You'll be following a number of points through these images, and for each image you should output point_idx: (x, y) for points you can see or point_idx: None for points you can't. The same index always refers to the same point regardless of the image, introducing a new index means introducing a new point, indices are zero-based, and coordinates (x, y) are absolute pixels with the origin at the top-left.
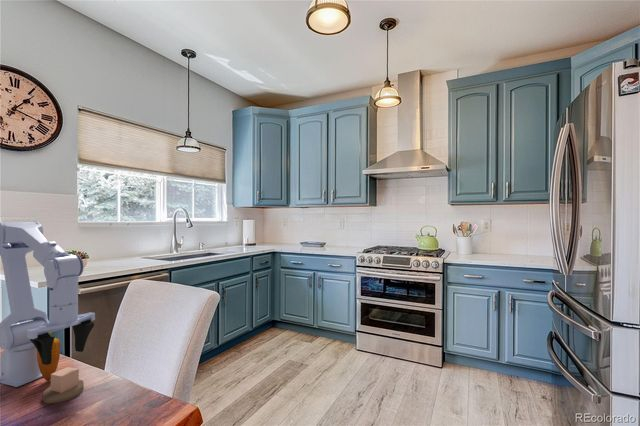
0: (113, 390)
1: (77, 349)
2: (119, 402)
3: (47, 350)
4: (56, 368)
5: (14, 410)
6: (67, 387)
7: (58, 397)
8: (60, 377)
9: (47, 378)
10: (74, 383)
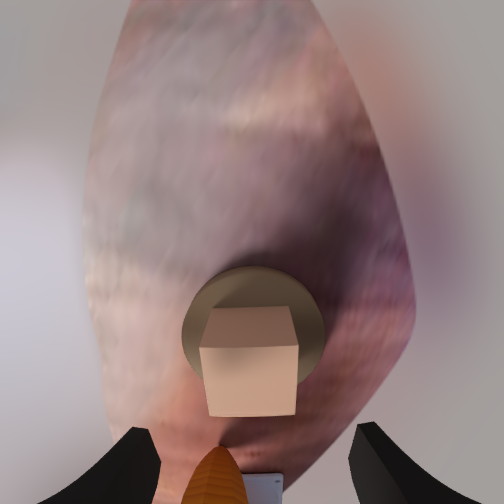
0: (152, 152)
1: (153, 461)
2: (211, 42)
3: (438, 485)
4: (198, 465)
5: (376, 365)
6: (262, 312)
7: (305, 292)
8: (297, 349)
9: (227, 452)
10: (230, 314)
